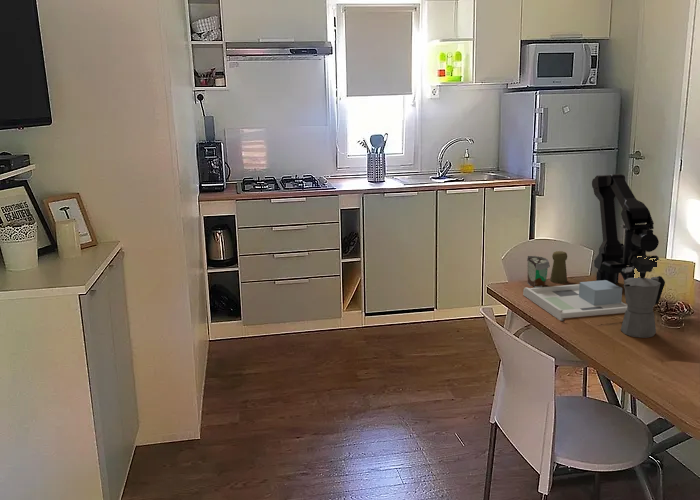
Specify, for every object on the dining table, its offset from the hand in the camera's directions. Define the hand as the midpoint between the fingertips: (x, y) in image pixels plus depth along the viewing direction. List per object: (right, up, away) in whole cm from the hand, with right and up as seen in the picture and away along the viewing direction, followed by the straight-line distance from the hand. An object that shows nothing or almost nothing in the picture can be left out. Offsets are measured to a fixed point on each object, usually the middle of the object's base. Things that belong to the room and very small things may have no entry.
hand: (630, 290), depth 210 cm
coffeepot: (-9, -10, -27) cm, 30 cm away
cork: (-16, +2, +24) cm, 29 cm away
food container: (-25, 0, +18) cm, 30 cm away
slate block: (-10, -3, -1) cm, 11 cm away
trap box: (-17, -4, -2) cm, 18 cm away
